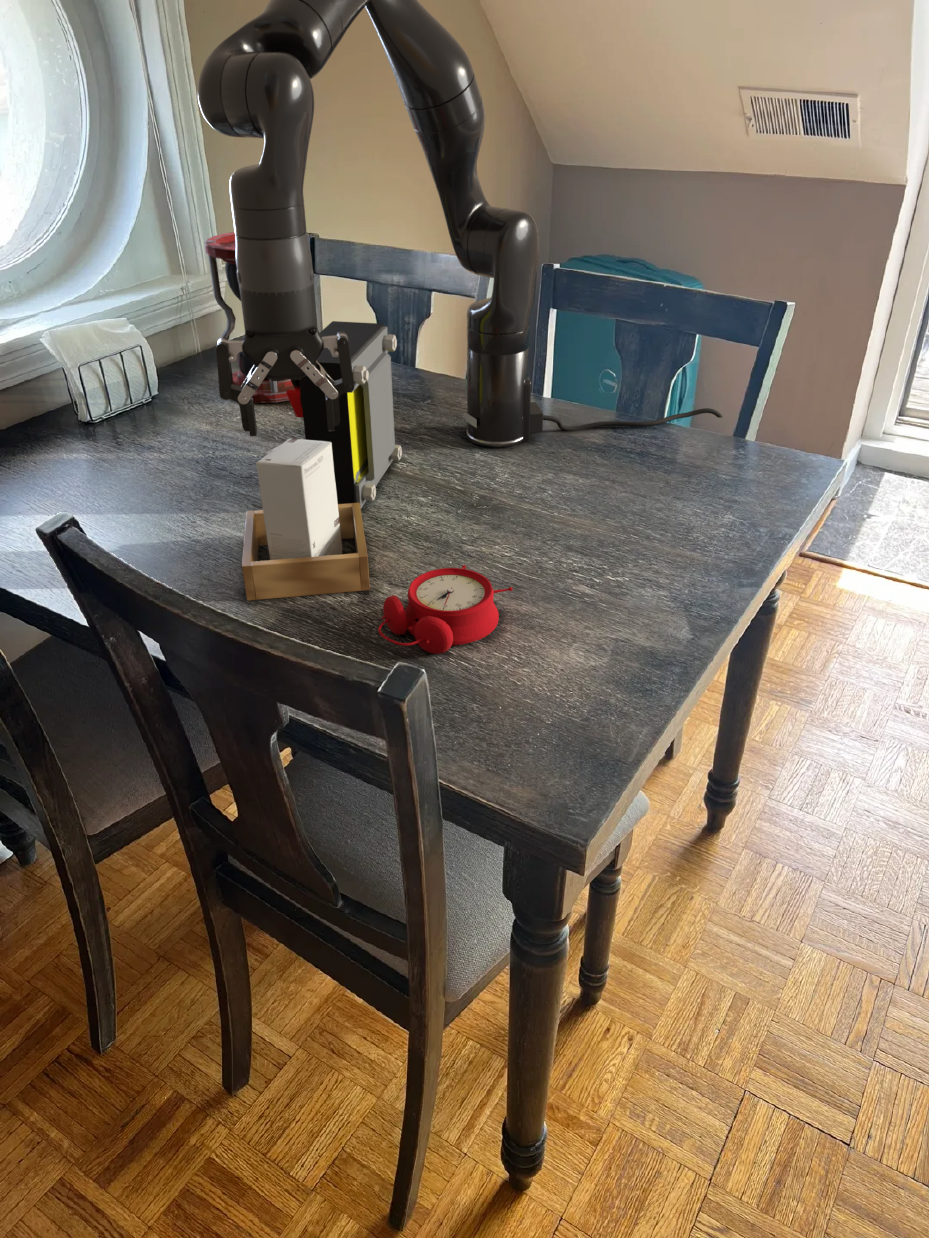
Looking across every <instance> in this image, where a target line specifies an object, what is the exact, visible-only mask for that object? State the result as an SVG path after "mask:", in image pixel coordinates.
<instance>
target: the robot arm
mask: <svg viewBox="0 0 929 1238" xmlns="http://www.w3.org/2000/svg"><path fill="white" fill-rule="evenodd" d="M364 9H365V10H366V12H367V14H368V16H369V18H370V20H371V23H372V25H373V27H374V29H375V32H376V34H377V36H378V39H379V42H380V43H381V46H382V48H383V51H384V54H385V56H386V59H387V61H388V63H389V66H390V68H391V71H392V74H393V77H394V79H395V82H396V84H397V88H398V91H399V94H400V96H401V99H402V102H403V105H404V107H405V110H406V112H407V115H408V118H409V121H410V123H411V125H412V129H413V130H414V133H415V135H416V137H417V139H418V141H419V144H420V147H421V149H422V152H423V154H424V157H425V160H426V163H427V166H428V168H429V172H430V174H431V178H432V180H433V183H434V185H435V189H436V191H437V194H438V197H439V201H440V204H441V208H442V211H443V215H444V218H445V223H446V227H447V230H448V235H449V239H450V242H451V245H452V248H453V251H454V253H455V257H456V258H457V260H458V263H459V264H460V266H462V268H463V269H464V270H465V271H467V272H469V273H471V274H473V275H477V276H481V277H486V278H490V279H491V278H492V279H493V281H492V282H493V283H492V292H491V296H490V297H488V298H483V299H480V300H477V301H474V302H472V303H471V304H470V305H468V307H467V311H466V407H467V408H466V411H467V412H466V411H464V421H465V422H466V428H467V429H466V438H467V440H469V442H471V443H473V444H476V445H478V446H482V447H488V448H489V447H490V448H507V447H512V446H516V445H519V444H521V443H525V442H530V437H531V436H530V435H531V434H532V433H543V429H544V428H543V427H544V421H549V422H553V423H555V424H556V425H557V427H558V428H559V429H560V430H562V431H565V432H576V431H583V430H589V429H593V428H599V427H633V428H636V427H639V428H640V427H651V426H657V425H661V424H666V423H669V422H672V421H674V420H679V419H685V418H689V417H694V416H697V415H702V414H710V415H713V416H715V417H716V418H723V415H722V414H721V412H719V411H718V410H716V409H714V408H709V407H706V408H705V407H704V408H698V409H694V410H691V411H687V412H681V413H676V414H672V415H668V416H665V417H662V418H659V419H653V420H647V421H621V420H620V421H619V420H606V421H605V420H604V421H596V422H595V421H594V422H592V423H586V424H583V425H578V426H577V425H576V426H570V425H569V426H568V425H564V424H563V421H562V420H561V419H560V418H558V417H556V416H552V415H545V414H544V412H543V411H542V409H541V408H540V406H539V405H538V402H537V401H536V402H535V401H533V402H532V399H531V398H532V381H531V379H530V377H529V358H530V357H529V356H530V355H529V353H530V326H531V315H532V312H533V310H534V309H533V308H534V305H535V301H536V290H537V279H538V277H537V276H538V266H539V254H540V236H539V234H540V233H539V229H538V224H537V223H536V221H535V219H534V217H533V216H532V215H531V214H530V213H528V212H526V211H525V210H519V209H513V208H506V207H501V206H500V207H499V206H492V205H491V204H490V203H489V201H488V200H487V198H486V196H485V194H484V191H483V188H482V185H481V182H480V178H479V175H478V174H479V173H478V168H477V167H478V158H479V154H480V149H481V145H482V141H483V138H484V133H485V126H486V109H485V103H484V101H483V96H482V94H481V90H480V87H479V83H478V81H477V78H476V74H475V71H474V69H473V64H472V62H471V59H470V58H469V56H468V54H467V52H466V50H465V49H464V48H463V46H461V44H460V43H459V42H458V40H457V39H456V38H455V37H454V36H453V35H452V34H451V32H449V30H447V28H445V26H444V25H442V23H441V22H439V20H438V19H437V18H435V17H434V16H433V15H432V14H431V13H430V12H429V11H428V10H427V8H425V7H424V5H423V4H422V3H420V2H419V0H269V1H268V3H267V5H266V6H265V7H264V9H263V11H262V12H261V13H260V14H258V15H257V16H256V17H254V18H253V19H251V20H249V21H247V22H246V23H245V24H243V25H242V26H241V27H239V28H238V29H237V30H235V31H234V32H233V33H231V34H230V35H229V36H228V37H226V38H224V40H222V41H221V42H220V43H219V44H218V45H217V46H216V47H215V48H214V49H212V51H211V52H210V54H209V55H208V56H207V58H206V60H205V61H204V63H203V65H202V67H201V71H200V73H199V75H198V81H197V101H198V105H199V108H200V113H201V114H202V116H203V118H204V119H205V121H206V122H207V123H208V124H209V126H210V127H211V128H212V129H213V130H215V131H216V132H217V133H219V134H222V135H224V136H227V137H233V138H244V139H245V138H246V139H247V138H248V139H264V144H263V150H262V155H261V157H260V161H259V163H257V164H252V165H248V166H243V167H240V168H238V169H236V170H235V171H233V172H232V174H231V176H230V177H229V197H230V205H231V213H232V221H233V229H234V230H233V231H234V232H235V234H236V235H235V239H236V265H237V280H238V282H239V289H240V297H241V301H240V304H241V311H242V320H243V328H244V335H245V337H244V339H243V341H241V340H230V339H229V340H228V339H227V338H225V337H222V336H221V337H219V338H218V339H217V342H216V346H215V352H216V366H217V376H218V388H219V389H218V391H219V397H220V398H221V399H222V400H224V401H227V400H231V401H234V402H236V403H238V406H239V411H240V418H241V425H242V429H243V431H244V432H249V437H257V436H258V427H257V419H256V411H255V402H253V398H251V397H252V396H253V394H254V393H255V391H256V390H257V389H258V388H259V386H260V385H261V383H262V382H263V380H264V378H265V377H266V378H268V379H271V380H272V381H280V380H284V379H291V380H301V378H303V377H305V376H306V375H307V376H308V377H309V378H310V379H311V380H312V381H313V383H314V384H315V385H316V386H318V387H319V388H320V389H321V390H322V391H323V392H324V393H325V397H326V408H327V420H328V431H335V428H334V426H339V423H340V411H339V397H340V396H341V395H342V394H344V393H346V392H348V393H350V392H352V391H353V390H354V380H353V372H352V365H351V357H350V349H349V342H348V337H347V334H346V333H345V332H343V331H340V332H338V333H337V335H335V336H325V337H322V336H321V335H320V331H319V328H318V327H319V326H318V317H317V316H318V315H317V304H316V303H317V302H316V293H315V291H316V290H315V279H314V277H315V272H314V269H313V259H312V258H313V257H312V252H311V247H310V243H309V239H308V232H307V220H306V209H305V208H306V207H305V198H304V196H305V195H304V184H305V176H306V168H307V161H308V160H307V159H308V154H309V153H308V152H309V145H310V140H311V134H312V129H313V123H314V115H315V93H314V88H313V83H312V81H311V80H312V79H313V78H315V77H316V76H317V75H319V74H320V73H321V71H322V70H323V69H324V67H325V66H326V64H327V63H328V61H329V59H330V58H331V56H332V55H333V53H334V52H335V50H336V48H337V47H338V45H339V44H340V42H341V41H342V40H343V38H344V36H345V35H346V33H347V32H348V30H349V29H350V27H351V26H352V24H353V23H354V21H355V20H356V18H357V17H358V16H359V15H360V13H361V12H362V11H363V10H364ZM323 348H328V349H329V350H330V352H331V354H332V356H334V357H339V361H340V368H341V375H342V378H341V379H339V380H336V381H333V379H332V378H331V377H330V376H329V375H328V374H327V373H326V371H325V370H324V368H323V367H322V366H321V365H320V364H319V363H318V361H317V359H318V357H319V356H320V354H321V353H322V351H323ZM240 352H243V353H244V354H245V356H246V357H247V358H248V359H249V360H250V361H251V362H252V363H253V364H254V365H253V367H252V368H251V370H250V371H249V373H248V376H247V377H246V379H245V381H244V382H243V384H242V385H241V387H240V386H237V385H233V384H232V374H233V373H232V374H231V368H232V363H235V362H236V361H237V360H238V353H240Z"/></svg>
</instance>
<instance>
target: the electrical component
mask: <svg viewBox="0 0 929 1238" xmlns="http://www.w3.org/2000/svg"><path fill="white" fill-rule="evenodd" d="M340 331H343V332H345V333H346V334H347V337H348V342H349V349H350V357H351V365H352V372H353V380H354V390H353V391H352V392H350V393H348V392H346V393H344V394H342V395H341V396H340V397H339V411H340V423H339V426H334V428H335V431H328V420H327V408H326V397H325V393H324V392H323V391H322V390H321V389H320V388H319V387H318V386H316V385H315V384H314V383H313V381H312V380H311V379H310V378H309V377H308V376H307V375H306V376H305V377H303V378H301V380H291V382H292V384H293V386H294V388H295V390H287V392H286V393H287V395H288V398H289V403H290V406H291V407H292V410H293V413H294V414H295V417H296V418H301V419H303V427H304V428H303V429H304V440H316V441H326V442H331V443H332V454H333V465H334V475H335V483H336V493H337V502H338V504H349V503H360V508H361V509H362V508H363V506H364V505H365V504H366V502H368V501H370V502H373V501H374V500H375V499H376V496H377V488H376V487H377V485H378V484H379V482H380V481H381V480H382V478H383V476H384V474H385V473H386V471H387V470H388V468H389V466H391V464H392V463H393V461H400V460H401V458H402V455H403V450H402V446H401V444H396V440H395V439H396V438H395V436H396V435H395V418H394V398H393V379H392V377H393V376H392V356H391V355H390V354H389V352H395V351H396V349H397V347H398V346H397V345H398V340H397V337H396V335H395V334H389V333H388V326H387V325H384V323H377V322H357V321H341V320H340V321H338V320H337V321H336V320H332V321H331V322H329V324H327V325H326V326H325V327H324V328H323V329H322V330H321V331H319V333H320V335H321V336H322V337H325V336H335V335H337V333H338V332H340ZM317 361H318V363H319V364H320V365H321V366H322V367H323V368H324V370H325V371H326V373H327V374H328V375H329V376H330V377H331V378H332V379H333V381H336V380H339V379H341V378H342V375H341V368H340V361H339V357H334V356H332V354H331V352H330V350H329V349H328V348H323V351H322V353H321V354H320V356H319V357H318V359H317Z"/></svg>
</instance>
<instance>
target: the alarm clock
mask: <svg viewBox="0 0 929 1238" xmlns="http://www.w3.org/2000/svg"><path fill="white" fill-rule="evenodd" d="M508 591H509V592H512V591H513V587H512V586H509V587H508V588H503V589H501V588H500V589H495V590H494V588H493V586H492V583H491V581H490V580H489V579H488V577H486V576H484V575H483V574H482V573H479V572H477V571H474V570H471V569H467V566H466V565H465V564H462V566H461V568H460V567H443V568H437V569H433V570H429V571H426V572H423V573H422V574H419V575H418V576H417V577H415V578H414V579H413V580H412V581H411V582H410V584H409V586H408V589H407V602H408V603H407V605H406V607H405V608H404V606H403V603H402V602H401V599H400V598H399V597H398V596H397V595H390V596H388V597H387V598H386V599H385V600H384V602H383V607H382V609H383V611H382V612H383V616H381V620H384V621H383V622H381V623H380V625H378V628H377V632H378V634H379V635H380V636H381V637H382V638H383V639H385V640H386V641H387V642H390V643H392V644H394V645H397V646H403V647H408V646H413V645H416V644H417V645H418V646H419V647H420V648H421V649H422V650H423V651H425V652H427V653H429V654H435V655H438V654H439V655H440V654H444V653H446V652H447V651H448V650H449V649H450V648H451V647H452V646H459V645H465V644H470V643H471V644H472V643H474V642H477V641H480V640H482V639H483V638H486V637H487V636H488V635H491V633H492V632H494V630H495V629H496V628H497V626H498V623H499V619H500V617H499V616H500V614H499V610H498V608H497V606H496V605H495V602H494V594H497V593H498V594H499V593H503V592H508ZM385 624H386V625H387V628H388V629H389V630H390V631H391V633H393V634H394V635H398V636H401V635H405V634H406V633H407V631H408V632H409V634H410V635H412V636H414V639H415V641H412V642H404V643H403V642H399V641H397V640H394V639H391V638H390V637H388V636H386V635H385V634H384V633H383V632H382V631H381V630H382V627H383V626H384V625H385Z"/></svg>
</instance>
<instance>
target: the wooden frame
mask: <svg viewBox="0 0 929 1238" xmlns="http://www.w3.org/2000/svg"><path fill="white" fill-rule="evenodd" d="M338 512H339V522H340V531H341V540H350V539H354V545H355V551H356V552H353V553H344V554H343V553H342V554H340V555H328V556H316V557H303V558H291V559H279V560H270V559H268V560H259V546H260V547H261V546H268V542H267V535H266V528H265V521H264V514H263V509H255V510H246V511H245V523H244V534H243V535H244V536H243V546H242V559H241V571H242V576H243V577H242V578H243V584H244V590H245V596H246V601H247V602H248V601H249V602H250V601H258V600H270V599H271V600H272V599H283V598H284V599H285V598H292V597H293V598H294V597H305V596H307V597H308V596H316V595H327V594H329V595H330V594H340V593H341V594H342V593H353V592H363V591H371V586H370V585H371V584H370V569H369V558H368V549H367V543H366V537H365V531H364V523H363V522H364V521H363V516H362V515H363V514H362V508H360V503H349V504H338Z"/></svg>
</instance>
